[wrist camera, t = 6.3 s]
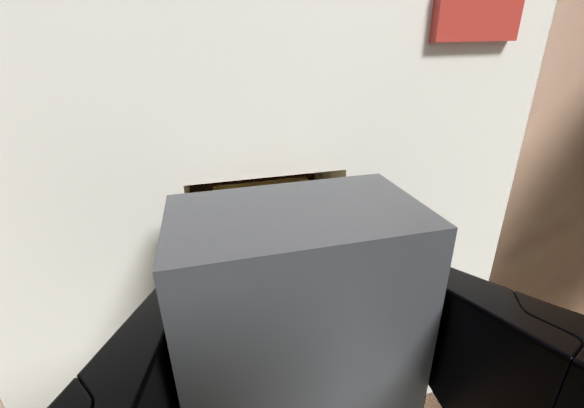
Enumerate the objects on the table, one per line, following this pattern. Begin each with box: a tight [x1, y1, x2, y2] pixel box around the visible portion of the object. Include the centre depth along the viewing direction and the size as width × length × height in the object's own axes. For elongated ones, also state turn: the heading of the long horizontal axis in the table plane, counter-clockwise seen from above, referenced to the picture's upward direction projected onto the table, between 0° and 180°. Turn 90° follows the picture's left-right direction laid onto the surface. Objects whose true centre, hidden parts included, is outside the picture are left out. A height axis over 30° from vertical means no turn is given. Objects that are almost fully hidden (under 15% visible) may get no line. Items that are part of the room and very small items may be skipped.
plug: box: [152, 173, 458, 408], centre depth 9 cm, size 5×5×6 cm
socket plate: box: [0, 0, 557, 408], centre depth 12 cm, size 16×16×3 cm
